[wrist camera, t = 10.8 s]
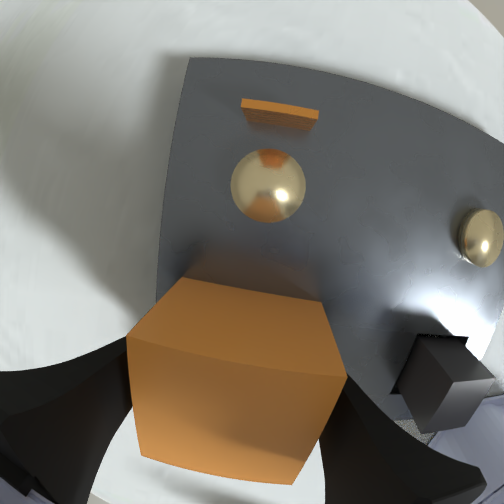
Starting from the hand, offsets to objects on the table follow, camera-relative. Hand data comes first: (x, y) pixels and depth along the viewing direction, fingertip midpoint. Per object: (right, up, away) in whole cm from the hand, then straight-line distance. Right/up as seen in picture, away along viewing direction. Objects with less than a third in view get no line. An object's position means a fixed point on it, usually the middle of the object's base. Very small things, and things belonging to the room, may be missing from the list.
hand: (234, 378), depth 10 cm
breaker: (+10, -1, +2) cm, 10 cm away
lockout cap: (0, 0, +2) cm, 2 cm away
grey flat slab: (+6, +4, +3) cm, 8 cm away
